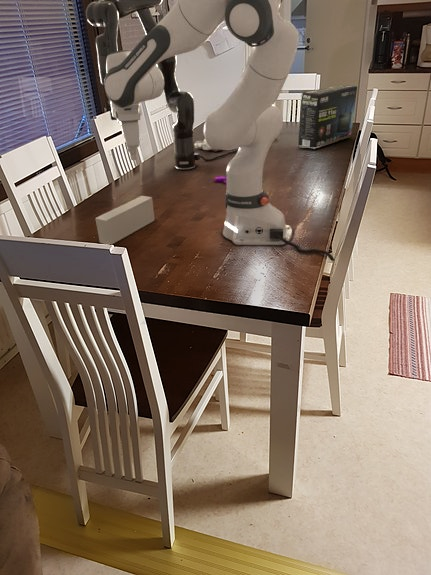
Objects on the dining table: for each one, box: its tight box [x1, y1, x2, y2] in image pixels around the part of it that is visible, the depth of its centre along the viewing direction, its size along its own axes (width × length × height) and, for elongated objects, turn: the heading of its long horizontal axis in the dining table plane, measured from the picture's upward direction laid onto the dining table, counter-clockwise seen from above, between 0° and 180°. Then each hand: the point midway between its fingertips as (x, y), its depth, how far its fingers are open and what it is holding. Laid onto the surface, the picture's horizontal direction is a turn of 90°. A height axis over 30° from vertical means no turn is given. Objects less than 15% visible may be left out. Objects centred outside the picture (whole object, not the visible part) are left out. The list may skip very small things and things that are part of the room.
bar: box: [94, 195, 155, 246], centre depth 152 cm, size 23×4×8 cm, turn 148°
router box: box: [297, 84, 358, 151], centre depth 238 cm, size 36×11×27 cm, turn 134°
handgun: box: [214, 176, 226, 184], centre depth 189 cm, size 21×8×2 cm, turn 11°
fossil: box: [194, 138, 220, 153], centre depth 243 cm, size 18×11×15 cm
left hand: (116, 117), depth 169 cm, fingers open, 8 cm apart
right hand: (132, 155), depth 147 cm, fingers open, 8 cm apart
